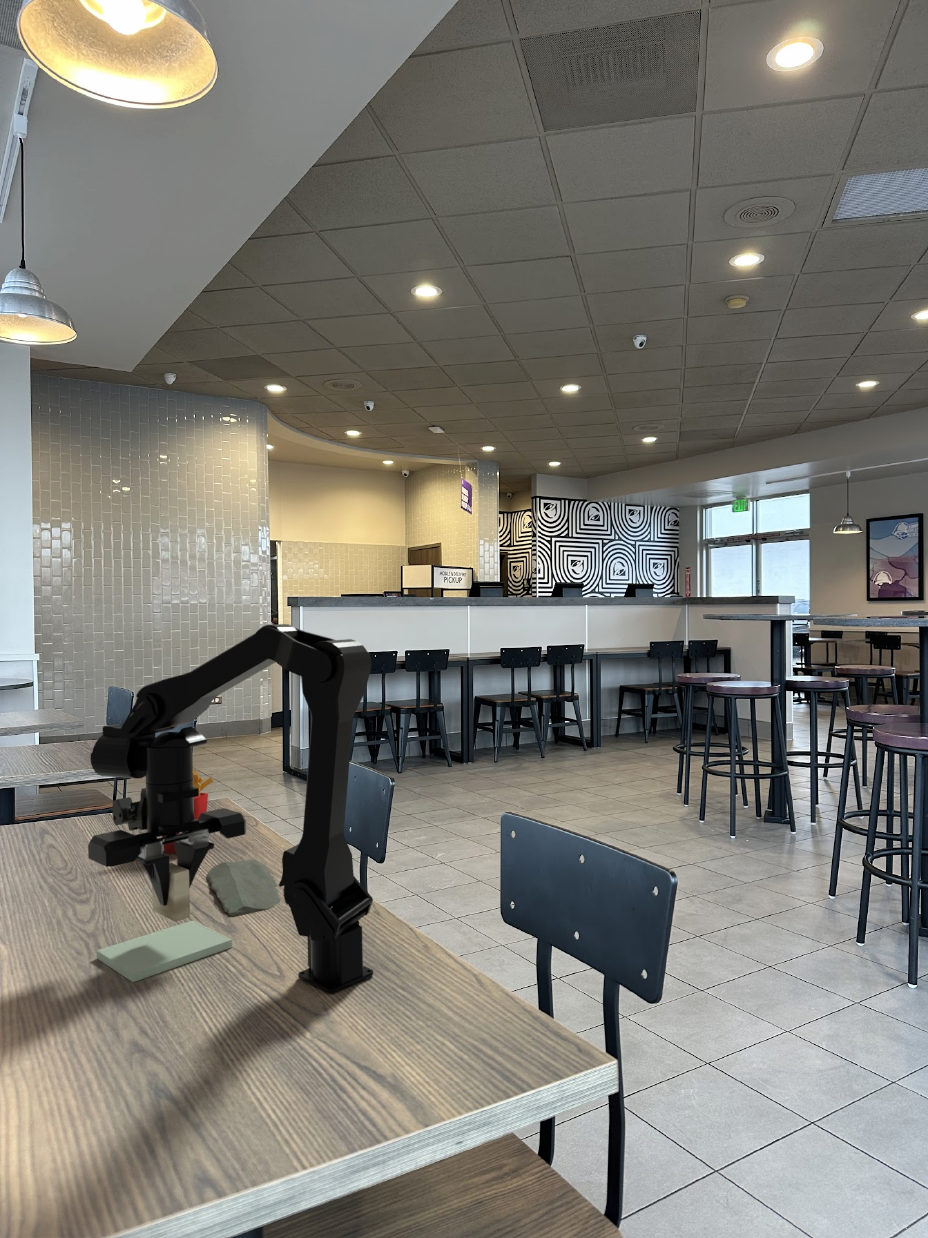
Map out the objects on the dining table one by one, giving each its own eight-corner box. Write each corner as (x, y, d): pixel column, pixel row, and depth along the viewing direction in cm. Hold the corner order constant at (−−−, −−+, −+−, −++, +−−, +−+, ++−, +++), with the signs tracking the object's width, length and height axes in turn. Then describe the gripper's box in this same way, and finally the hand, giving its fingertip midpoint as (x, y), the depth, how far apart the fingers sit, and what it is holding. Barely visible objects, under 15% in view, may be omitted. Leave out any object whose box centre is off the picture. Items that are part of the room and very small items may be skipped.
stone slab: (263, 874, 139) (203, 875, 135) (265, 858, 139) (205, 858, 135) (291, 920, 119) (221, 922, 115) (293, 901, 119) (223, 903, 115)
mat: (232, 947, 104) (231, 939, 104) (132, 982, 95) (132, 974, 95) (193, 927, 111) (193, 920, 111) (97, 958, 102) (97, 950, 102)
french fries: (156, 854, 146) (154, 771, 146) (184, 841, 154) (183, 762, 154) (198, 857, 143) (196, 773, 143) (225, 844, 151) (223, 764, 151)
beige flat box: (190, 917, 103) (189, 870, 103) (175, 922, 101) (174, 874, 101) (167, 906, 107) (166, 860, 107) (152, 910, 105) (151, 864, 105)
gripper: (204, 762, 116) (207, 871, 116) (68, 784, 102) (71, 908, 102) (247, 772, 108) (249, 888, 108) (106, 797, 95) (109, 930, 95)
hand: (172, 902), depth 104 cm, fingers closed on beige flat box, 2 cm apart
